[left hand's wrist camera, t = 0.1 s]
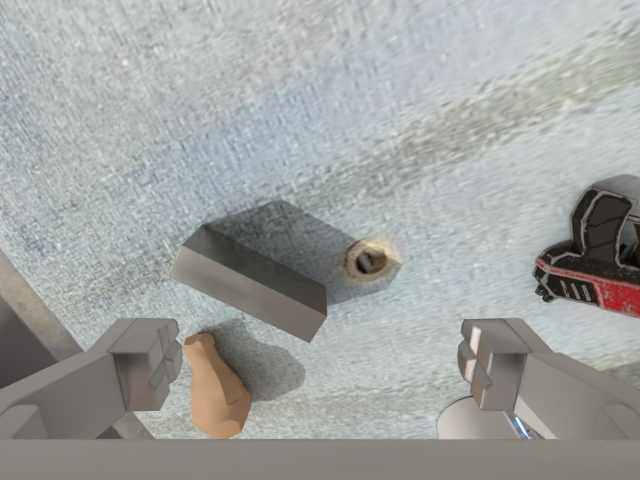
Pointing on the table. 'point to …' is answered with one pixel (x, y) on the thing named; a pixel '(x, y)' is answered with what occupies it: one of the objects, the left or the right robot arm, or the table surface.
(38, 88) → the table surface
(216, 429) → the squash
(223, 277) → the bar
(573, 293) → the gun
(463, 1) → the table surface
